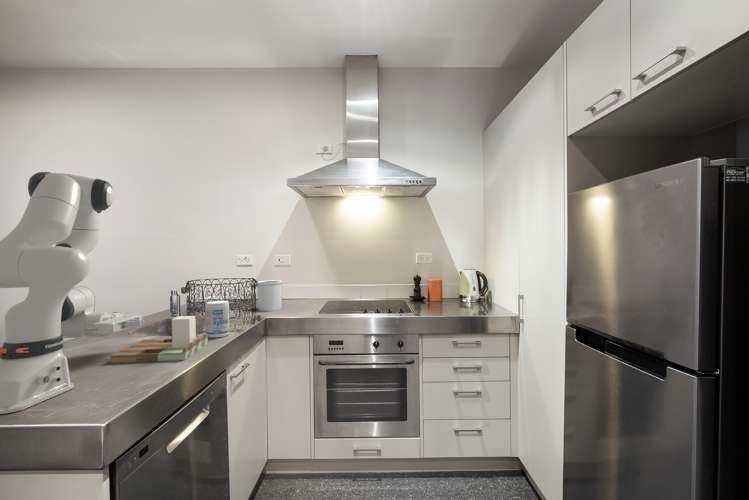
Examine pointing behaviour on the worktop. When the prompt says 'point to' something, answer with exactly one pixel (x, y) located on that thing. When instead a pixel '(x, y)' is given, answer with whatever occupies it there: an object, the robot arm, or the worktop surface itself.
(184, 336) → the cream block
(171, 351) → the brown green flat slab
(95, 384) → the worktop surface
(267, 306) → the utensil holder
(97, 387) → the worktop surface
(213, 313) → the supplement tub
